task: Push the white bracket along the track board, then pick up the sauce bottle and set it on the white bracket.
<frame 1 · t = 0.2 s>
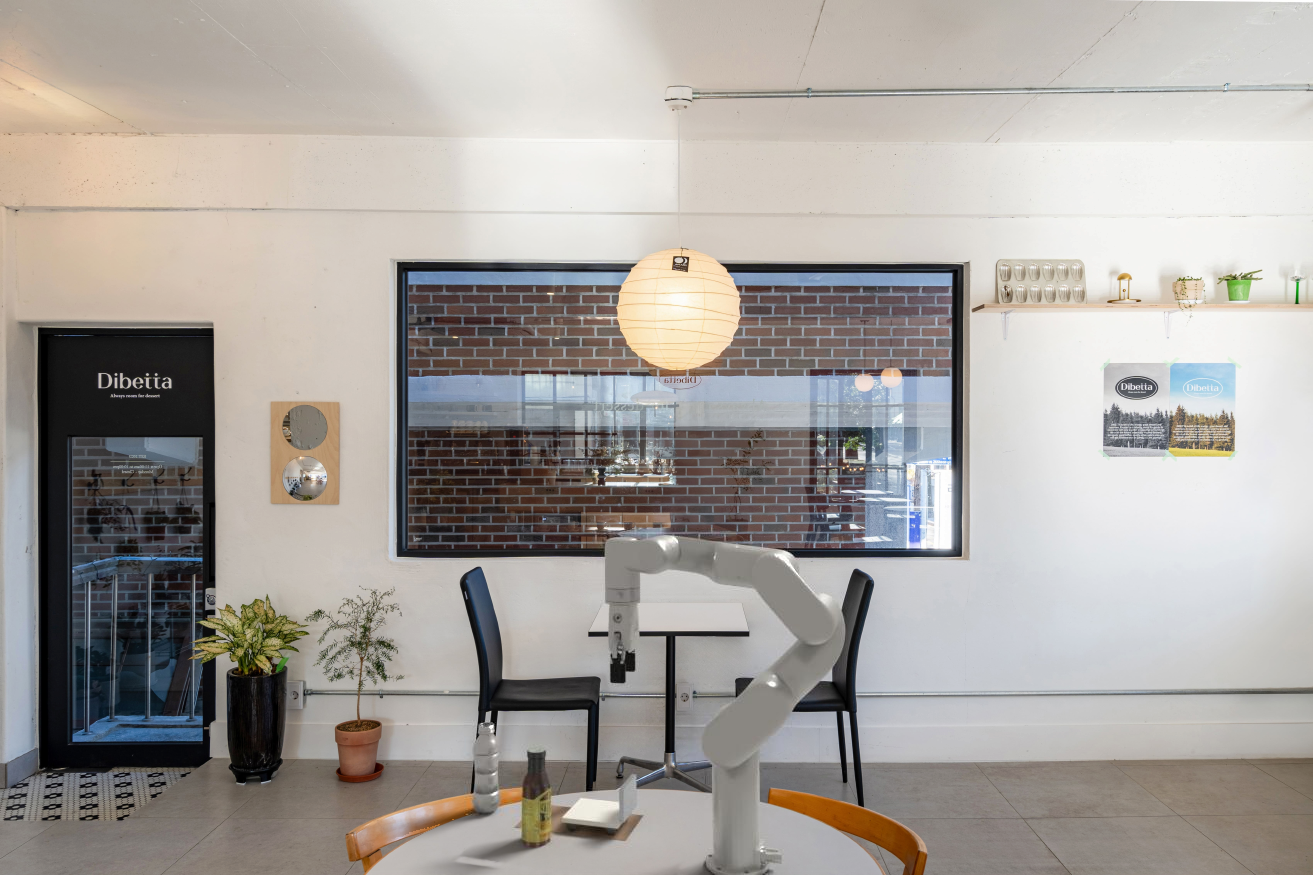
hand: (623, 676, 167), 36 cm above the table, tool pointing down, fingers open, 9 cm apart
track board: (579, 825, 177), on the table
plastic bottle: (486, 811, 186), on the table
white bracket: (600, 800, 176), point 6 cm above the table, slide at -10.0 cm
sauce bottle: (536, 845, 168), on the table
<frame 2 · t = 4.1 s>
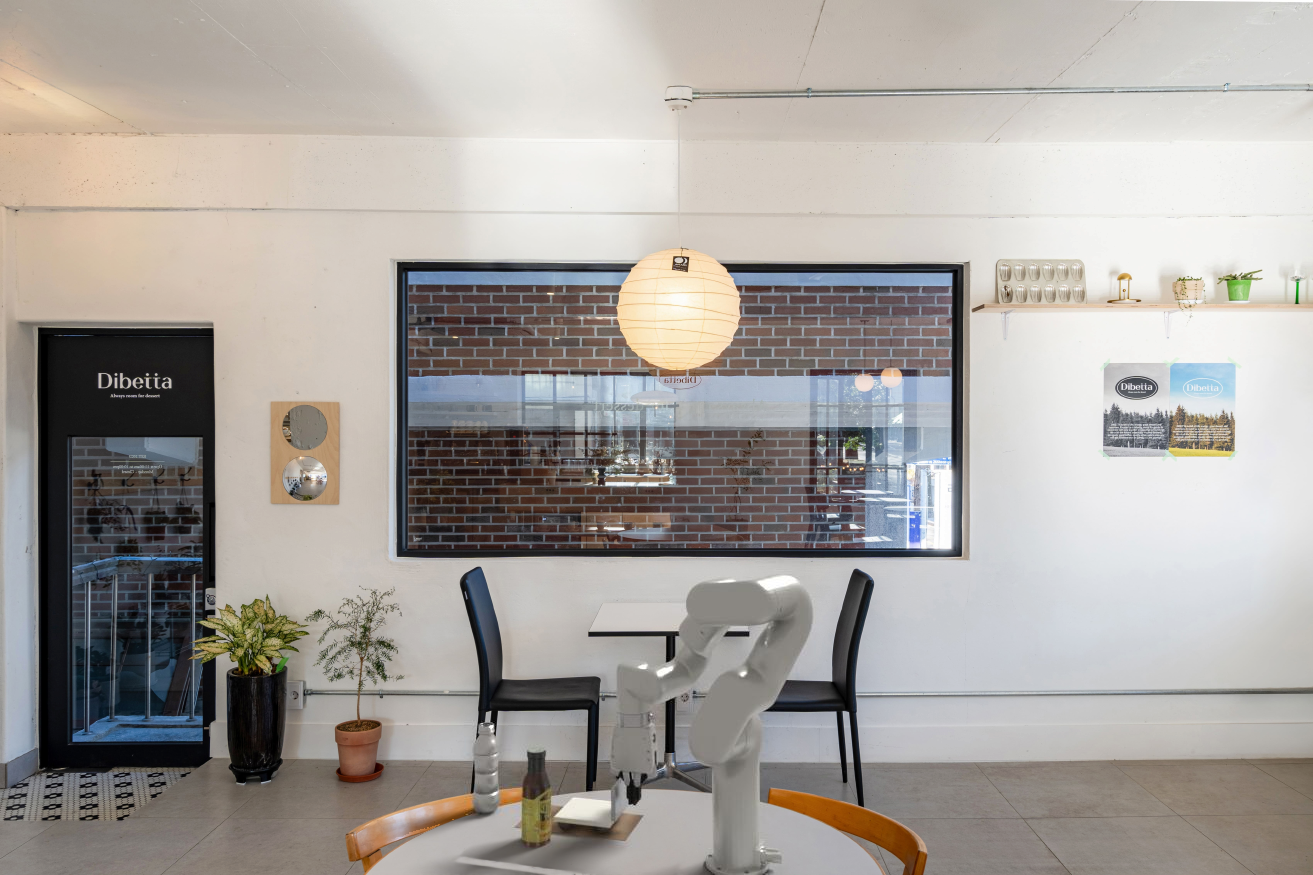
hand: (633, 802, 174), 6 cm above the table, tool pointing down, fingers closed
white bracket: (592, 799, 177), point 6 cm above the table, slide at -8.1 cm, touching gripper
everything else where it was.
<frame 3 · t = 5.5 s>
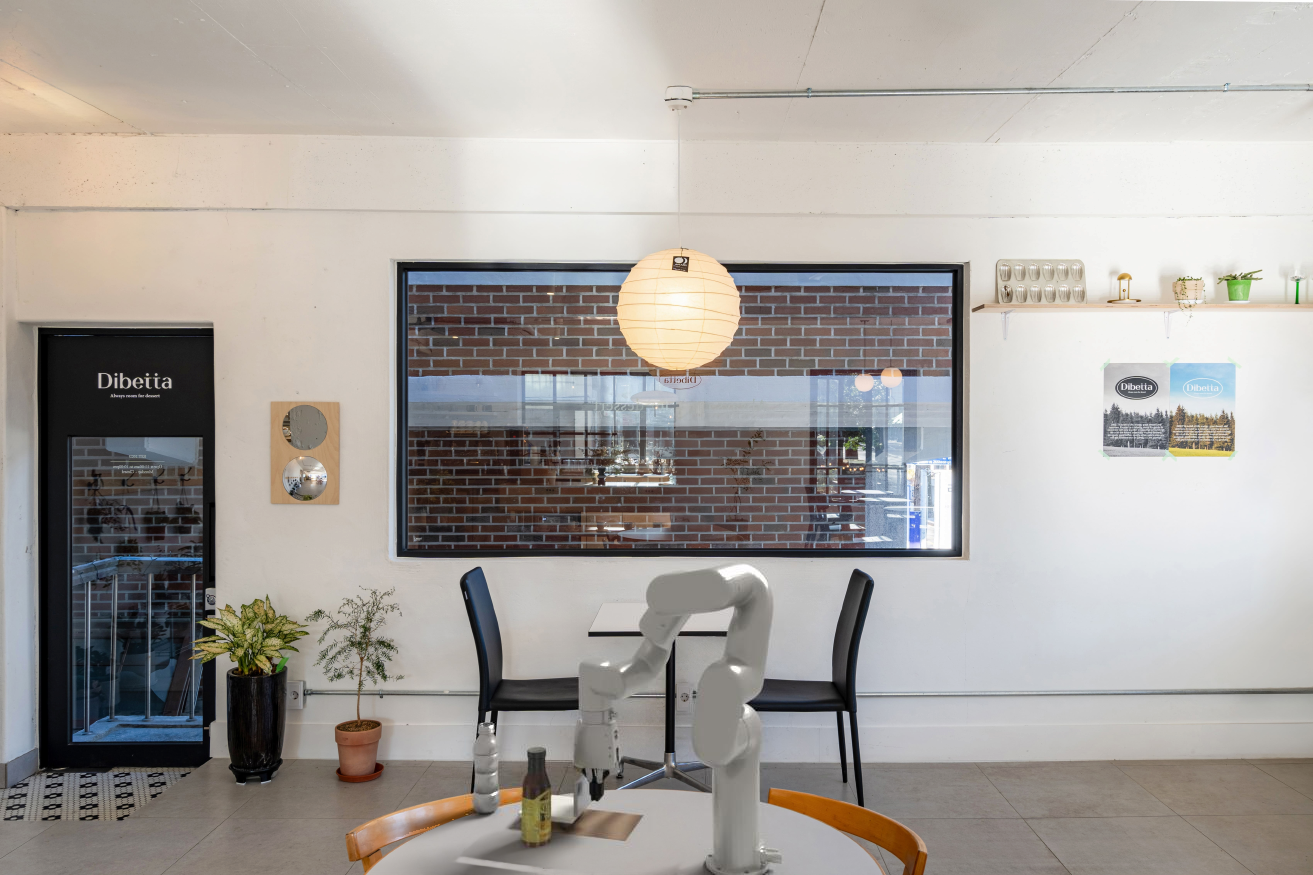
hand: (596, 798, 176), 6 cm above the table, tool pointing down, fingers closed
white bracket: (556, 795, 179), point 6 cm above the table, slide at 0.6 cm, touching gripper
everything else where it was.
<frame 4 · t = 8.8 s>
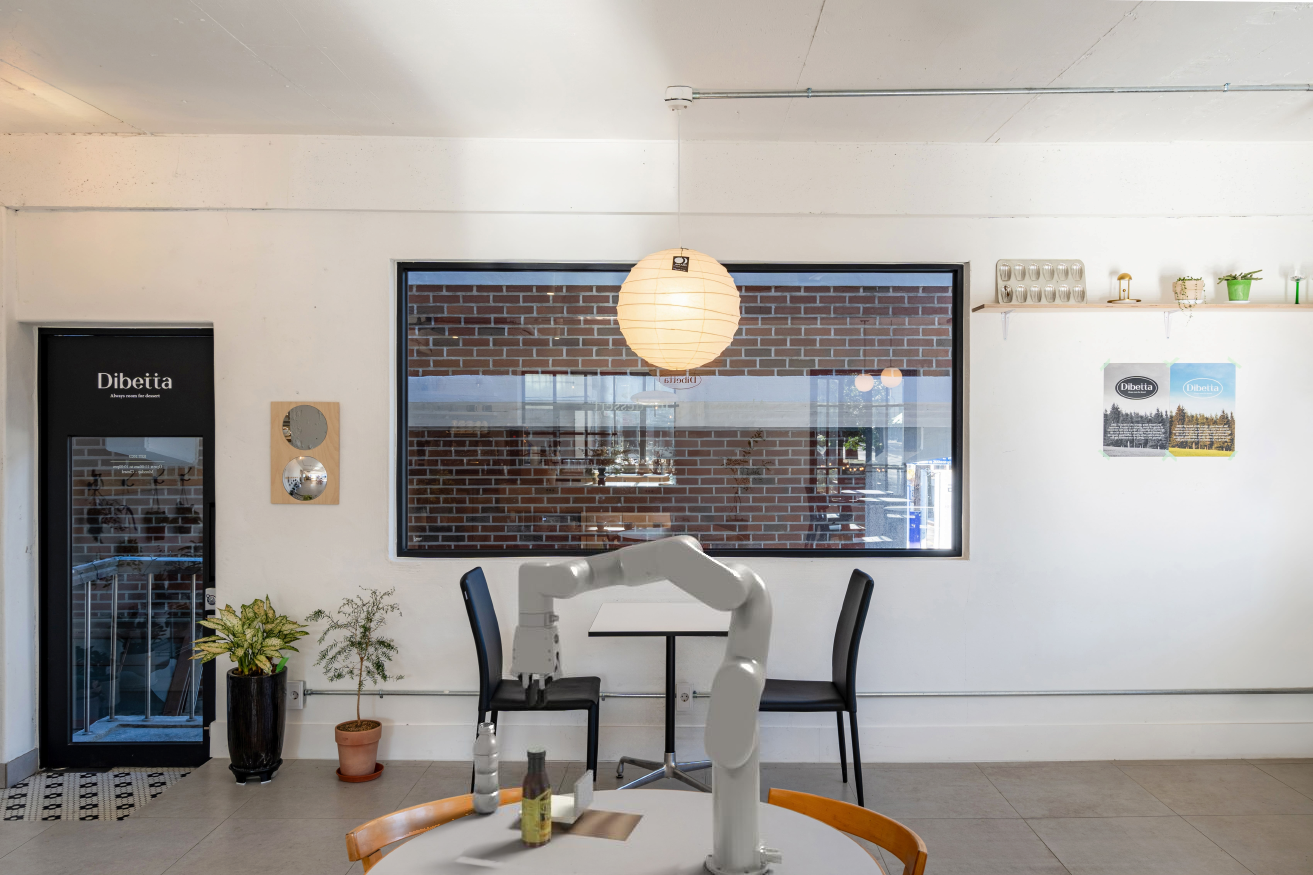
hand: (536, 705, 170), 29 cm above the table, tool pointing down, fingers closed
white bracket: (557, 795, 179), point 6 cm above the table, slide at 0.5 cm
everything else where it was.
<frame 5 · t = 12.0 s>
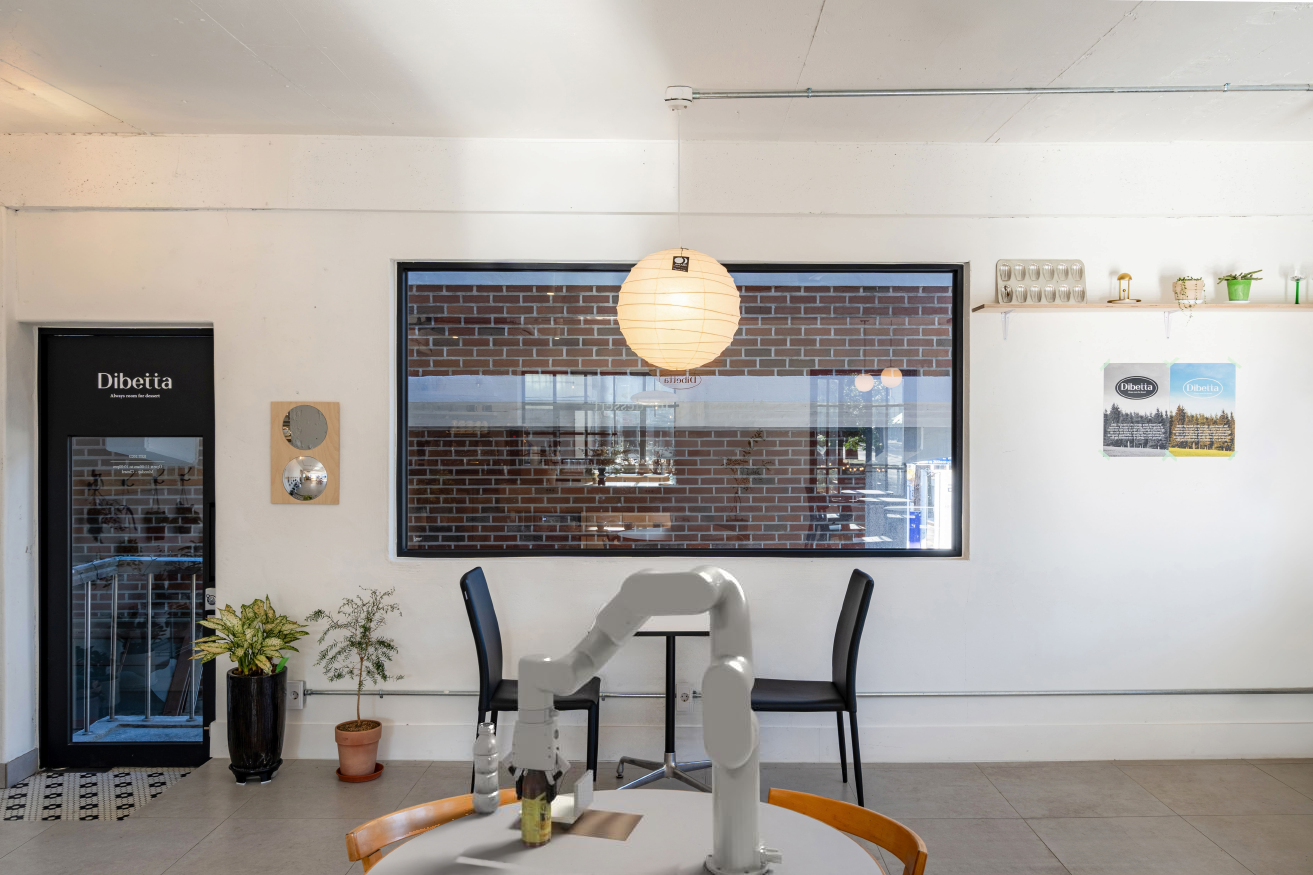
hand: (536, 798, 169), 10 cm above the table, tool pointing down, fingers closed on sauce bottle, 6 cm apart
sauce bottle: (536, 845, 168), on the table, touching gripper
everything else where it was.
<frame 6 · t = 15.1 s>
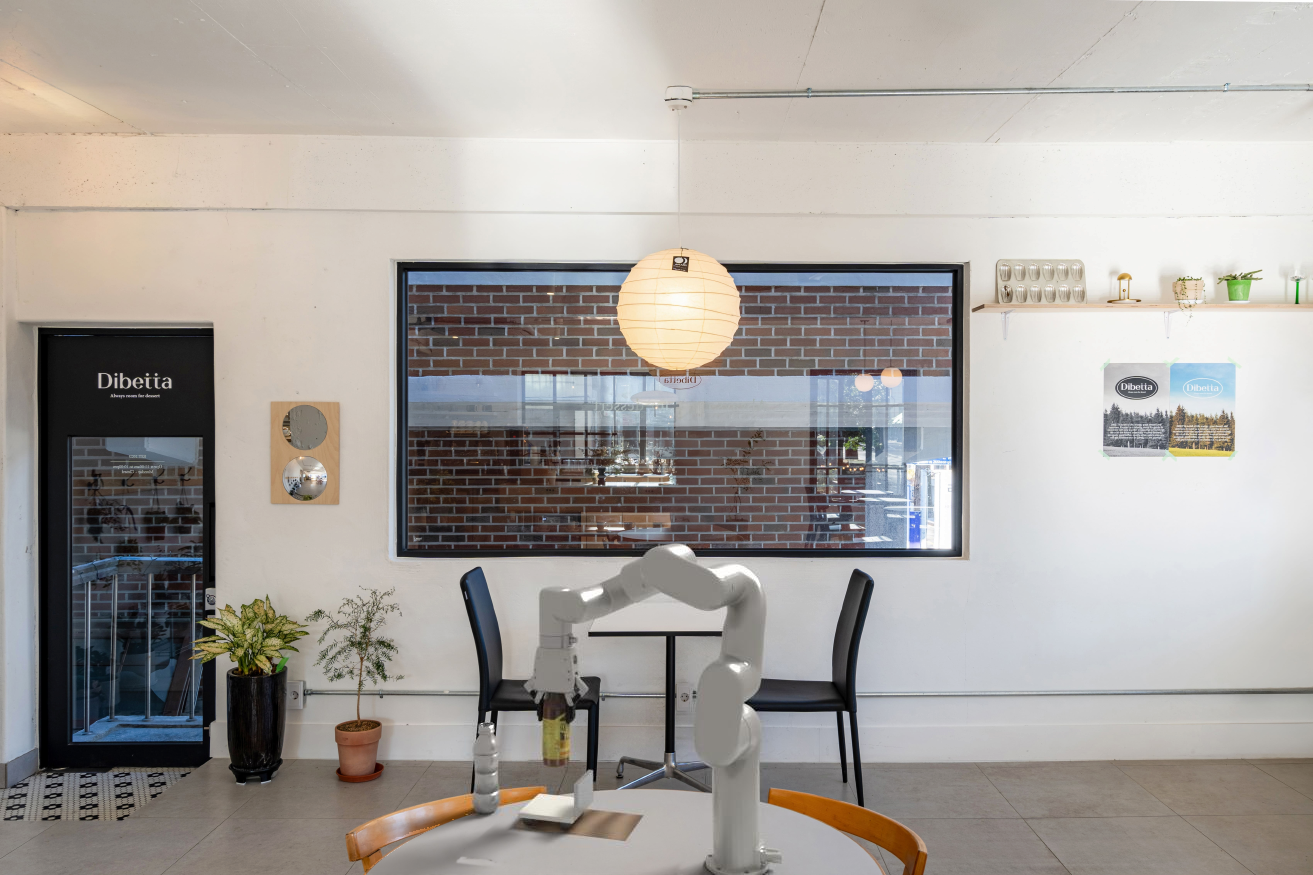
hand: (556, 720, 180), 23 cm above the table, tool pointing down, fingers closed on sauce bottle, 6 cm apart
sauce bottle: (556, 763, 179), point 13 cm above the table, touching gripper
everything else where it was.
when the fingers open (14 cm above the table, at t = 18.2 s): sauce bottle stays where it is, resting on white bracket.
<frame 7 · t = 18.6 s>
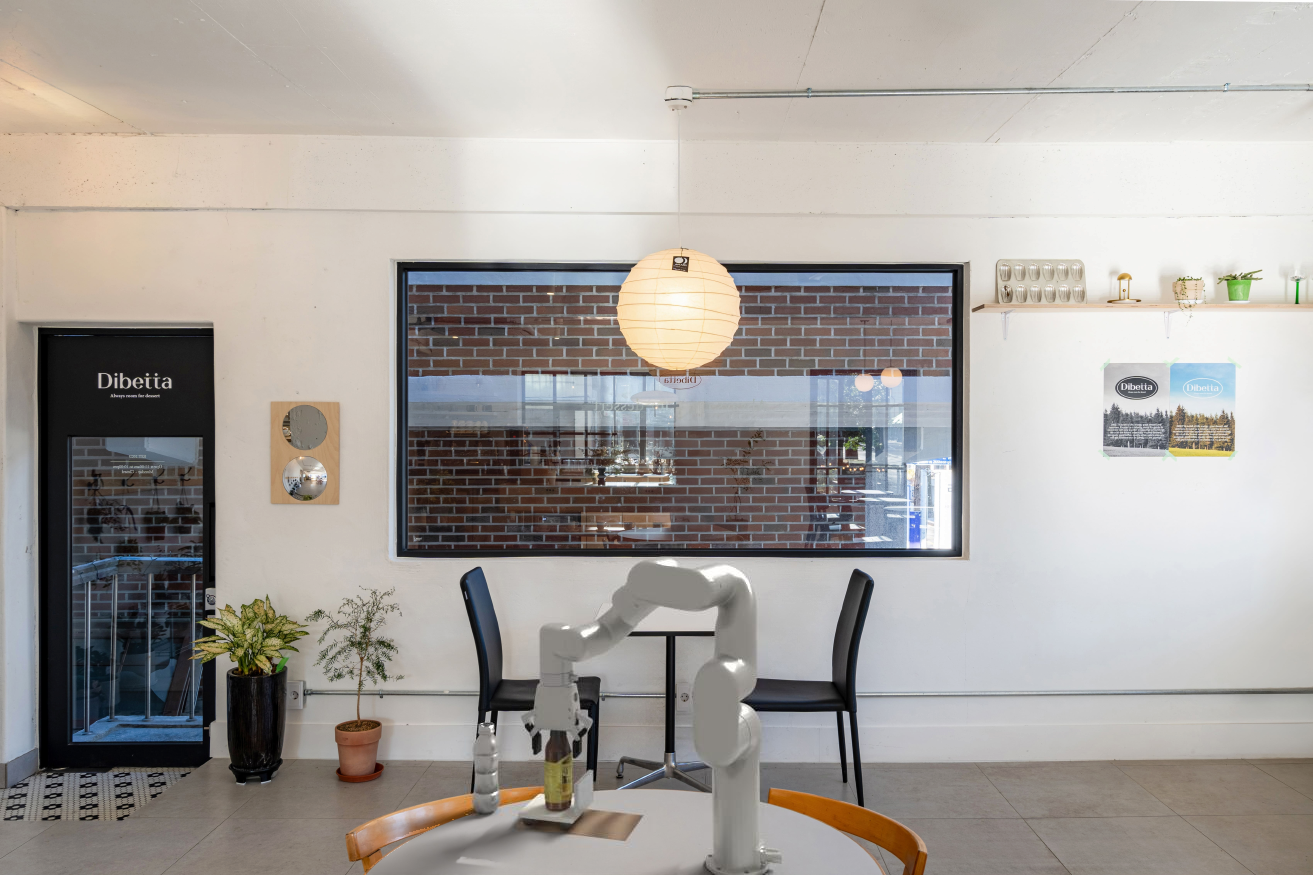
hand: (556, 754, 179), 15 cm above the table, tool pointing down, fingers open, 9 cm apart
white bracket: (557, 795, 179), point 6 cm above the table, slide at 0.5 cm, touching sauce bottle
sauce bottle: (558, 806, 179), point 4 cm above the table, touching white bracket
everything else where it was.
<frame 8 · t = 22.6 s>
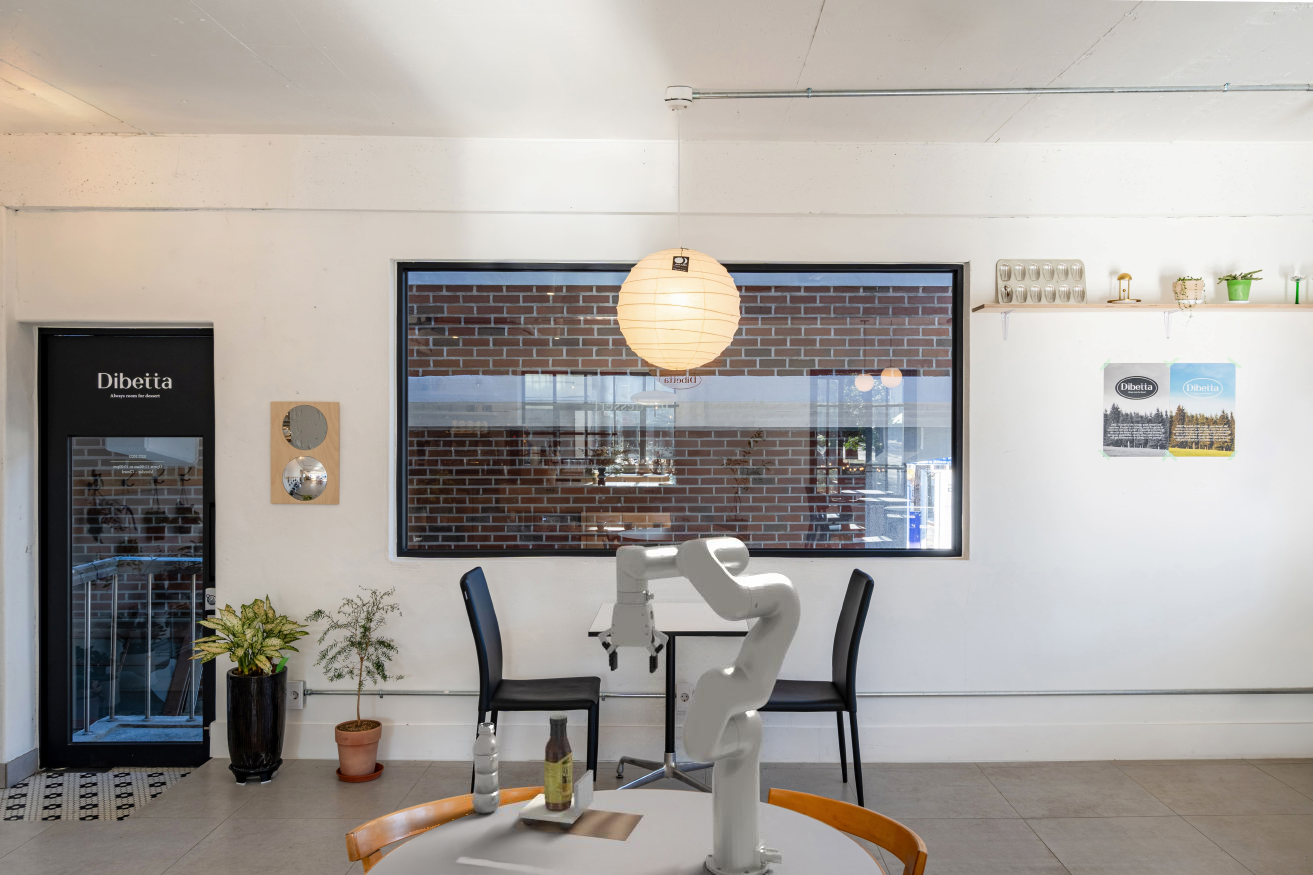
hand: (633, 670, 187), 32 cm above the table, tool pointing down, fingers open, 9 cm apart
nothing on the table moved.
at the end: white bracket slide at 0.5 cm; sauce bottle inside the target area on the white bracket (0.8 cm from its centre), point 2.6 cm above the white bracket's base; sauce bottle tilted 0° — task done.
